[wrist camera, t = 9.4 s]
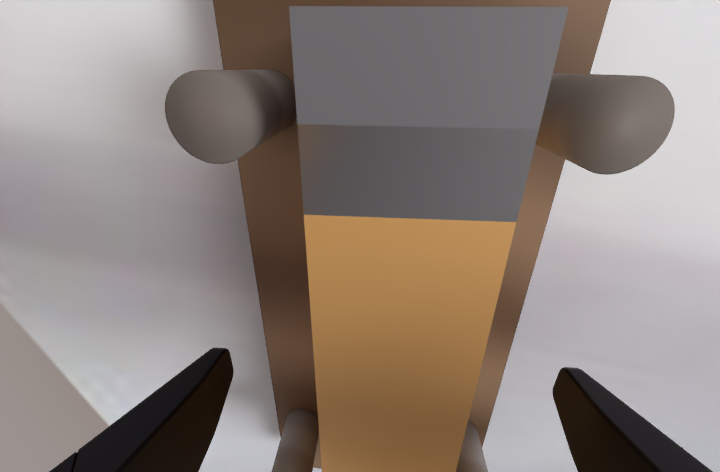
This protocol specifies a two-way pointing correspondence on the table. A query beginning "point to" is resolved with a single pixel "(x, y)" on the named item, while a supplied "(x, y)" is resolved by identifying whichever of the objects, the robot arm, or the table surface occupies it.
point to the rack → (284, 188)
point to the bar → (411, 211)
